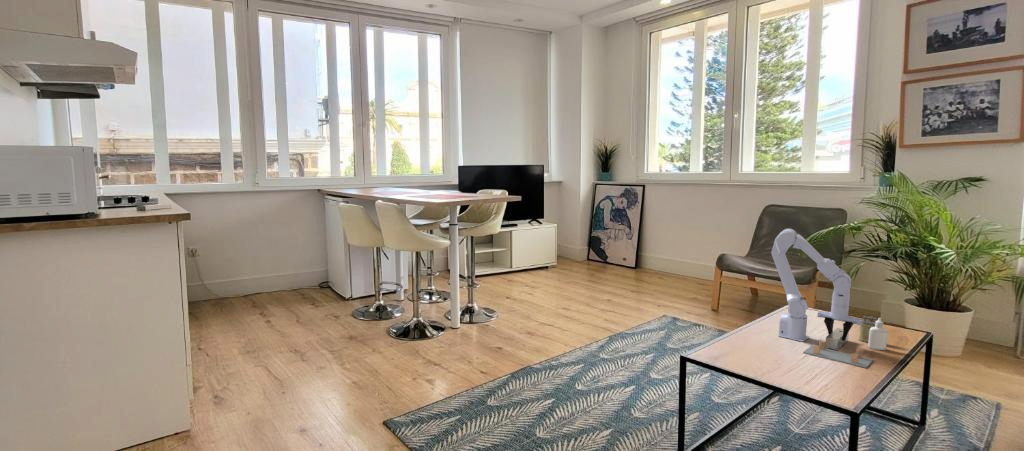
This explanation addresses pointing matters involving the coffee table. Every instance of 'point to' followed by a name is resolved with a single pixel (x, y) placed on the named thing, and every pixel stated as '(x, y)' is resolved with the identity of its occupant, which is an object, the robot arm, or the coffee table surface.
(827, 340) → the silver long block
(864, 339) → the lighter
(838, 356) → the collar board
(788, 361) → the coffee table surface
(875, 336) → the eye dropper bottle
